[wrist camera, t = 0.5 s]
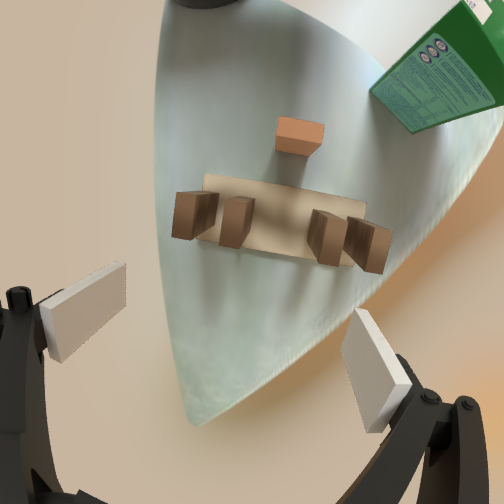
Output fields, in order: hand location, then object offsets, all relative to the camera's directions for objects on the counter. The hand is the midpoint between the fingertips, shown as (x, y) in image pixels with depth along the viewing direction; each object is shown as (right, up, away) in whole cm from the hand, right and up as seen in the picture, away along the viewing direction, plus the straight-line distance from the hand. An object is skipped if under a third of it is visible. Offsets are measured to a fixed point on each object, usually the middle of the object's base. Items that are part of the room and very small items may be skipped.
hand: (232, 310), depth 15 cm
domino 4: (+14, +6, +21) cm, 26 cm away
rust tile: (+7, +17, +20) cm, 27 cm away
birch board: (+5, +8, +23) cm, 24 cm away
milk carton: (+24, +26, +17) cm, 39 cm away
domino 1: (-5, +9, +22) cm, 24 cm away
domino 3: (+10, +6, +21) cm, 24 cm away
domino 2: (0, +8, +22) cm, 23 cm away
